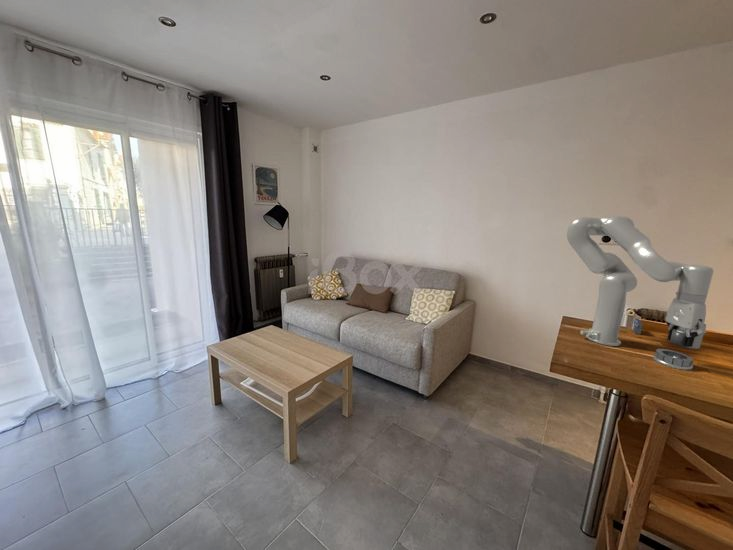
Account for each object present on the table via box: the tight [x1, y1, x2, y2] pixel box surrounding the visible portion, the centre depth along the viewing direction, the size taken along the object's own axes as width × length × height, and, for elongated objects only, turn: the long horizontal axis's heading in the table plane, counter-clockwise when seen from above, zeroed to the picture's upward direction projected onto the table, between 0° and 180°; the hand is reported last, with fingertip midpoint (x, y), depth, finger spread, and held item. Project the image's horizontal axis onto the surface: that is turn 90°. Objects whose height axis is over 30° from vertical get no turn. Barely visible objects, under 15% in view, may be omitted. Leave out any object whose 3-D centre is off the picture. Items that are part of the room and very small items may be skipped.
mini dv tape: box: [630, 318, 644, 336], centre depth 148 cm, size 8×2×6 cm, turn 152°
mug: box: [678, 323, 707, 350], centre depth 133 cm, size 12×8×11 cm
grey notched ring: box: [652, 348, 694, 371], centre depth 116 cm, size 11×11×4 cm
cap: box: [669, 329, 686, 348], centre depth 114 cm, size 5×5×5 cm
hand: (679, 342), depth 114 cm, fingers closed on cap, 5 cm apart
